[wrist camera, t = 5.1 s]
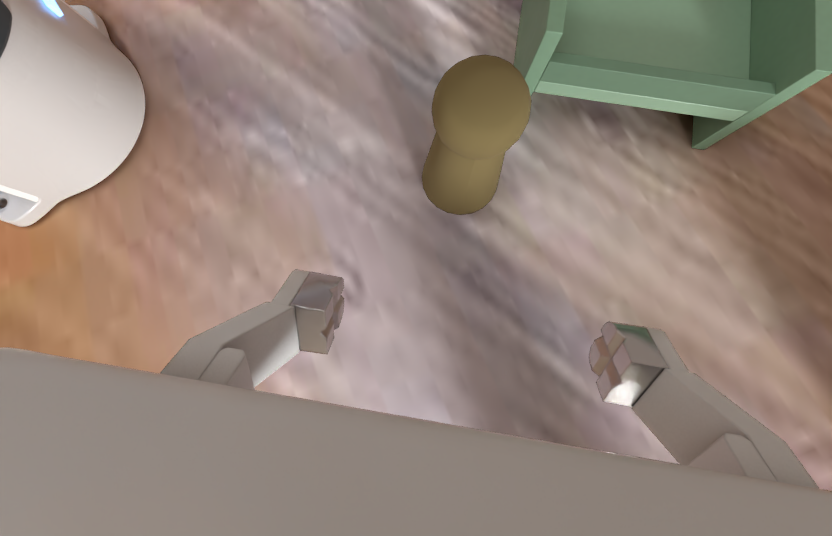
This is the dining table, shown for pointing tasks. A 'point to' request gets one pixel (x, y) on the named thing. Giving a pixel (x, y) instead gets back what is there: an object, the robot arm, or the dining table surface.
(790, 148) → the dining table surface
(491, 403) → the dining table surface
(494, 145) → the olive tall rounded piece
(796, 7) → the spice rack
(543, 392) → the dining table surface
